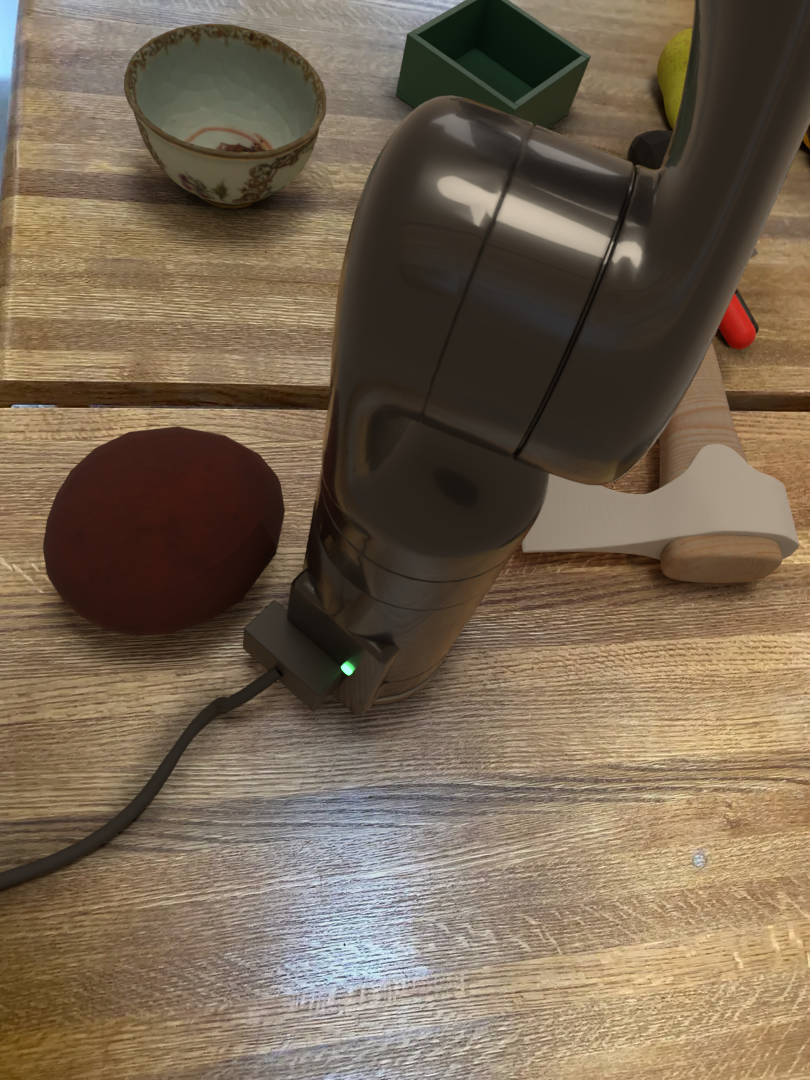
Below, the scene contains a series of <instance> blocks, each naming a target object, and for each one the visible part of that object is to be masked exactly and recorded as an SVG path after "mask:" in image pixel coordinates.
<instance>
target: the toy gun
mask: <svg viewBox="0 0 810 1080" xmlns="http://www.w3.org/2000/svg"><path fill="white" fill-rule="evenodd" d="M758 254H759V252H758V250H757V249H756V247H755V248H754V251H753V253H752V255H751V257H750V259H752V258H754V257H755V256H757V255H758ZM718 330H719V331H720V334H721V335H722V336H723V338H724V340H725V341H726V343H727V345H728V346H729V347H730V348H732V349H734V350H744V349H746V348H748V347H750V346H751V345H752V344H753V343H754V341H755V339H756V336H757V334H758V333H759V330H760V326H759V324H758V323H757V321H756V318H755V317H754V316H753V314H752V312H751V311H750V308H749V306H748V304H747V303H746V301H745V300H744V298H743V295H742V294H741V293H740V291H739V289H738V288H737V289H736V291H735V293H734V295H733V298H732V300H731V302H730V304H729V306H728V308H727V310H726V312H725V315H724V317H723V319H722V321H721V323H720V325H719V327H718Z"/></svg>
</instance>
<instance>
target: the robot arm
mask: <svg viewBox="0 0 810 1080" xmlns="http://www.w3.org/2000/svg"><path fill="white" fill-rule="evenodd" d="M693 2H694V3H693V12H692V13H693V15H692V27H691V28H692V36H691V44H690V52H689V59H688V64H687V70H686V75H685V81H684V86H683V92H682V97H681V103H680V107H679V111H678V115H677V119H676V122H675V126H674V129H672V131H673V133H672V136H671V140H670V143H669V146H668V149H667V151H666V154H665V157H664V159H663V162H662V165H661V167H660V168H659V169H656V170H653V169H649V168H646V167H644V166H640V165H636V166H633V163H632V162H630V161H629V159H628V160H627V159H626V158H622V157H620V156H618V155H615V154H613V153H610V152H607V151H605V150H603V149H600V148H598V147H595V146H592V145H590V144H588V143H585V142H582V141H579V140H577V139H574V138H573V137H570V136H567V135H566V134H565V135H564V134H562V133H560V132H557V131H554V130H551V129H550V128H548V129H547V128H544V127H542V126H539V125H535V126H534V125H533V123H531V122H529V121H526V120H523V119H521V118H518V117H516V116H514V115H511V114H509V113H506V112H504V111H501V110H499V109H496V108H494V107H491V106H488V105H486V104H483V103H480V102H477V101H474V100H471V99H468V98H463V97H459V96H453V95H449V96H439V97H436V98H433V99H430V100H428V101H426V102H424V103H422V104H421V105H420V106H418V107H417V108H416V109H414V108H413V110H411V111H410V112H409V113H408V114H407V115H406V116H405V117H404V118H403V119H402V120H401V122H400V123H399V124H398V125H397V127H396V128H395V129H394V131H393V132H392V133H391V135H390V136H389V137H388V138H387V140H386V141H385V143H384V145H383V147H382V148H381V150H380V152H379V154H378V155H377V157H376V159H375V161H374V162H373V163H374V164H373V165H372V167H371V170H370V171H369V173H368V177H367V179H366V181H365V183H364V186H363V189H362V191H361V194H360V197H359V199H358V202H357V205H356V208H355V212H354V215H353V219H352V222H351V226H350V230H349V234H348V239H347V243H346V246H345V251H344V255H343V260H342V265H341V269H340V274H339V279H338V285H337V286H338V288H337V295H336V301H335V302H336V303H335V311H334V319H333V331H332V342H331V352H330V353H331V354H330V371H329V384H328V385H329V387H328V399H327V400H328V401H327V403H328V404H327V410H326V411H327V412H326V419H325V425H324V432H323V438H322V439H323V440H322V447H321V466H320V469H319V475H318V483H317V487H316V493H315V498H314V503H313V509H312V513H311V519H310V526H309V532H308V536H307V537H308V538H307V543H306V548H305V554H304V560H303V565H302V571H300V573H298V574H297V576H295V577H294V578H293V580H292V581H291V584H290V590H289V596H288V603H287V609H286V608H285V607H284V606H283V605H281V604H280V602H278V601H277V600H275V599H273V600H272V601H271V602H270V603H269V604H268V605H267V606H265V607H264V609H263V610H261V611H260V612H259V613H258V614H257V615H256V616H255V617H254V618H253V619H252V620H251V621H250V622H249V623H248V624H246V626H245V627H243V638H242V649H243V650H244V651H245V652H246V653H247V654H248V655H250V656H251V657H252V658H253V659H254V660H255V661H256V662H257V663H259V665H260V666H262V667H263V668H264V669H265V670H266V671H265V672H264V673H263V674H261V675H260V676H258V677H256V679H254V680H253V681H251V682H250V683H248V684H247V685H245V686H244V687H243V688H240V690H238V691H236V692H235V693H233V694H231V695H229V696H219V697H217V698H215V699H214V700H212V701H211V702H210V703H209V704H208V705H206V706H205V707H204V708H203V709H202V710H201V711H200V712H199V713H198V714H197V715H196V716H195V717H194V718H193V719H192V720H191V721H190V722H189V724H188V725H187V727H186V728H185V729H184V731H183V732H182V733H181V734H180V736H179V738H178V739H177V740H176V741H175V743H174V744H173V746H172V747H171V749H170V750H169V752H168V753H167V754H166V756H165V757H164V758H163V760H162V761H161V762H160V765H159V766H158V767H157V769H156V770H155V771H154V773H153V774H152V776H151V777H150V778H149V780H148V781H147V782H146V784H145V785H144V786H143V787H142V789H141V790H140V791H139V793H137V795H136V796H135V797H134V798H132V800H131V801H130V802H129V803H128V804H127V805H126V806H125V807H124V808H123V809H122V810H121V811H119V812H118V814H116V815H115V816H114V817H113V818H112V819H110V820H109V821H108V822H107V823H106V824H104V825H103V826H101V827H99V828H97V830H95V831H94V832H92V833H90V834H88V835H87V836H86V837H84V838H82V839H80V840H79V841H77V842H74V843H73V844H71V845H69V846H67V847H65V848H63V849H61V850H59V851H56V852H54V853H51V854H49V855H47V856H44V857H42V858H39V859H36V860H34V861H31V862H27V863H25V864H22V865H19V866H16V867H13V868H10V869H7V870H4V871H1V872H0V890H1V889H4V888H7V887H10V886H13V885H16V884H19V883H23V882H25V881H28V880H30V879H33V878H36V877H39V876H42V875H45V874H47V873H49V872H52V871H55V870H57V869H59V868H61V867H64V866H66V865H68V864H71V863H72V862H74V861H76V860H79V859H80V858H81V857H83V856H85V855H87V854H89V853H91V852H92V851H94V850H96V849H97V848H99V847H100V846H102V845H103V844H105V843H106V842H107V841H109V840H110V839H112V838H113V837H115V836H116V835H117V834H119V833H120V832H121V831H122V830H123V829H124V828H126V827H128V825H129V824H131V823H132V822H133V821H134V819H136V818H137V817H138V816H139V815H140V814H141V813H142V812H143V811H144V810H145V808H146V807H147V806H148V805H149V804H150V803H151V802H152V800H153V799H154V798H155V796H156V795H157V794H158V792H159V791H160V790H161V788H162V787H163V786H164V784H165V783H166V781H167V780H168V779H169V777H170V776H171V774H172V773H173V771H174V769H175V767H176V765H177V764H178V762H179V760H180V759H181V757H182V756H183V754H184V753H185V751H186V750H187V748H188V746H189V745H190V744H191V743H192V741H193V740H194V739H195V737H196V736H197V735H198V734H199V733H201V731H202V730H203V729H205V727H206V726H207V725H208V724H209V723H210V722H211V721H212V720H213V719H215V718H216V717H217V716H218V715H219V714H220V713H221V712H228V711H229V712H230V711H233V710H235V709H238V708H241V706H243V705H245V704H246V703H248V702H249V701H251V700H253V699H254V698H256V697H257V696H258V695H260V694H261V693H263V692H264V691H266V690H267V689H268V688H270V687H271V686H273V685H274V684H275V683H277V682H280V684H282V685H283V686H284V688H286V689H287V690H288V691H289V692H290V693H292V695H294V697H296V698H297V699H298V700H299V701H300V702H302V704H304V706H306V707H307V708H308V709H309V710H310V711H311V712H312V713H314V712H316V711H317V710H318V709H319V708H320V706H322V704H323V703H325V701H326V700H328V698H329V697H330V696H331V695H333V696H334V697H335V698H336V699H337V700H338V701H339V702H340V703H342V705H344V706H345V707H346V708H347V709H348V710H349V711H351V713H352V714H354V715H355V716H357V717H362V716H363V715H364V714H365V713H366V712H367V711H368V709H370V708H371V707H372V706H374V705H386V704H391V703H397V702H399V701H402V700H405V699H407V698H409V697H411V696H413V695H414V694H416V693H418V692H419V691H421V690H422V689H423V688H424V687H425V686H427V684H429V682H430V681H432V679H433V678H434V677H435V676H436V675H437V673H438V672H439V670H440V669H441V666H442V665H443V663H444V662H445V660H446V658H447V655H448V654H449V652H450V650H451V648H452V647H453V646H454V644H455V643H456V641H457V639H458V638H459V636H460V635H461V634H462V632H463V631H464V629H465V627H466V626H467V624H469V621H470V620H471V618H472V617H473V615H474V614H475V613H476V611H477V609H478V607H479V606H480V604H481V603H482V602H483V600H484V599H485V597H486V595H487V594H488V593H489V591H490V590H491V588H493V587H492V586H494V584H495V583H496V581H497V580H498V578H499V576H500V575H501V573H502V572H503V570H504V569H505V568H506V567H507V565H508V563H509V562H510V560H511V559H512V557H513V556H514V554H515V553H516V551H517V549H518V548H519V547H520V545H522V541H523V540H524V538H525V537H526V535H527V534H528V532H529V531H530V529H531V528H532V526H533V525H534V523H535V522H536V520H537V518H538V516H539V514H540V512H541V510H542V507H543V504H544V502H545V499H546V495H547V490H548V482H549V473H550V474H552V475H555V476H558V477H561V478H564V479H566V480H569V481H572V482H576V483H580V484H585V485H589V486H590V485H600V486H604V485H609V484H611V483H614V482H617V480H619V479H621V478H622V477H624V476H625V475H627V474H628V473H629V472H630V471H632V469H633V468H634V467H635V466H636V465H637V464H639V463H640V461H641V460H643V459H644V458H645V457H646V455H647V454H648V452H649V451H650V450H651V448H652V447H653V446H654V445H655V443H656V442H657V440H659V436H660V435H661V433H662V432H663V431H664V429H665V428H666V426H667V424H668V423H669V421H670V419H671V418H672V416H673V415H674V413H675V411H676V410H677V408H678V406H679V405H680V403H681V401H682V400H683V398H684V396H685V394H686V392H687V390H688V388H689V387H690V385H691V383H692V381H693V379H694V377H695V375H696V373H697V372H698V370H699V368H700V366H701V364H702V361H703V359H704V357H705V355H706V353H707V351H708V349H709V347H710V344H711V342H712V343H713V340H714V339H715V336H716V334H717V332H718V330H719V328H718V327H719V325H720V323H721V321H722V319H723V317H724V315H725V312H726V310H727V308H728V306H729V304H730V302H731V300H732V298H733V295H734V293H735V291H736V289H738V287H739V284H740V282H741V280H742V277H743V275H744V273H745V271H746V268H747V266H748V264H749V262H750V260H751V258H750V257H751V255H752V253H753V251H754V248H755V249H756V246H757V244H758V242H759V239H760V237H761V235H762V232H763V231H764V229H765V226H766V223H767V221H768V219H769V217H770V216H771V213H772V211H773V208H774V205H776V201H777V200H778V199H777V198H778V196H779V194H780V192H781V190H782V188H783V185H784V183H785V181H786V179H787V177H788V174H789V173H790V170H791V167H792V165H793V164H794V161H795V160H796V159H795V158H796V156H797V154H798V152H799V149H800V147H801V146H802V143H803V142H804V141H803V138H804V136H805V134H806V132H807V133H808V130H809V127H810V0H694V1H693Z"/></svg>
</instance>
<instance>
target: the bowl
mask: <svg viewBox="0 0 810 1080" xmlns="http://www.w3.org/2000/svg"><path fill="white" fill-rule="evenodd" d="M123 77H124V80H123V91H124V95H125V98H126V101H127V103H128V105H129V107H130V109H131V110H132V111H133V116H134V119H135V122H136V125H137V128H138V131H139V134H140V136H141V138H142V141H143V144H144V145H145V147H146V149H147V151H148V152H149V154H150V156H151V158H152V159H153V160H154V162H155V163H156V164H157V166H158V168H160V169H161V170H162V171H163V173H164V174H166V176H167V177H168V178H170V180H172V181H173V182H174V183H176V185H178V186H180V187H181V188H182V189H184V190H186V191H187V192H189V193H191V194H193V195H195V196H197V197H199V198H200V199H201V200H203V201H204V202H206V203H207V204H209V205H212V206H216V207H218V208H221V209H232V210H235V209H242V208H247V207H250V206H253V205H255V204H256V203H258V202H260V201H261V200H265V199H268V198H269V197H271V196H273V195H275V194H277V193H279V192H281V191H282V190H284V189H285V188H286V187H288V186H289V185H290V184H291V183H292V182H293V181H294V180H295V179H296V178H297V177H298V176H299V175H300V174H301V173H302V171H303V170H304V168H305V166H307V164H308V162H309V160H310V159H311V155H312V153H313V151H314V148H315V146H316V142H317V139H318V135H319V131H320V126H321V125H322V123H323V121H324V119H325V117H326V115H327V114H326V113H327V94H326V89H325V85H324V83H323V81H322V79H321V76H320V74H318V72H317V70H316V69H315V68H314V67H313V65H312V64H311V63H310V62H309V61H308V60H307V59H306V58H305V57H304V56H303V55H302V54H301V53H299V52H298V51H297V50H296V49H294V48H292V47H291V46H290V45H288V44H287V43H285V42H284V41H281V40H279V39H277V38H275V37H274V36H271V35H269V34H267V33H264V32H262V31H258V30H254V29H251V28H248V27H244V26H239V25H234V24H230V23H229V24H228V23H227V24H225V23H200V24H191V25H186V26H185V25H184V26H180V27H176V28H174V29H171V30H168V31H166V32H164V33H161V34H158V35H157V36H155V37H153V38H151V39H150V40H149V41H147V42H146V43H145V44H143V46H141V47H140V48H139V49H138V50H136V52H135V53H134V54H133V55H132V56H131V59H130V60H129V61H128V63H127V67H126V70H125V73H124V76H123Z"/></svg>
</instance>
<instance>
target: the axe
mask: <svg viewBox="0 0 810 1080" xmlns="http://www.w3.org/2000/svg"><path fill="white" fill-rule="evenodd" d="M727 397H728V396H727V393H726V389H725V384H724V381H723V376H722V372H721V368H720V364H719V361H718V357H717V354H716V350H715V347H714V344H713V341H712V342H711V344H710V347H709V349H708V351H707V353H706V355H705V357H704V359H703V361H702V364H701V366H700V368H699V370H698V372H697V373H696V375H695V377H694V379H693V381H692V383H691V385H690V387H689V388H688V390H687V392H686V394H685V396H684V398H683V400H682V401H681V403H680V405H679V406H678V408H677V410H676V411H675V413H674V415H673V416H672V418H671V419H670V421H669V423H668V424H667V426H666V428H665V429H664V431H663V432H662V433H661V435H660V436H659V438H658V445H659V482H658V483H659V484H658V485H659V487H658V488H657V489H655V490H654V491H651V492H648V493H628V492H622V491H617V490H613V489H611V488H608V487H605V486H604V485H590V486H589V485H585V484H580V483H576V482H572V481H569V480H566V479H564V478H561V477H558V476H555V475H552V474H550V473H549V482H548V490H547V495H546V499H545V502H544V504H543V507H542V510H541V512H540V514H539V516H538V518H537V520H536V522H535V523H534V525H533V526H532V528H531V529H530V531H529V532H528V534H527V535H526V537H525V538H524V540H523V541H522V543H521V549H522V553H523V554H525V553H526V554H527V553H528V554H529V553H581V552H583V553H586V552H587V553H588V552H589V553H590V552H591V553H613V554H615V553H616V554H628V555H630V554H631V555H637V556H644V557H647V558H652V559H655V560H659V561H660V569H661V572H662V574H663V575H665V577H667V578H670V579H673V580H676V581H682V582H692V583H709V584H711V583H712V584H716V583H717V584H718V583H719V584H724V583H725V584H727V583H728V584H730V583H731V584H732V583H745V582H752V581H757V580H758V581H759V580H761V579H764V578H766V577H769V576H770V575H771V574H772V573H774V572H775V571H776V570H777V569H778V568H779V567H780V566H781V565H782V563H783V560H785V559H787V558H789V557H790V556H792V555H793V554H794V553H796V551H797V550H798V549H799V548H800V542H799V537H798V533H797V528H796V525H795V522H794V517H793V514H792V509H791V505H790V501H789V498H788V493H787V490H786V486H785V484H784V483H783V482H782V481H780V480H779V479H777V478H776V477H774V476H772V475H769V474H766V473H763V472H761V471H759V470H757V469H755V468H754V467H753V466H752V465H750V463H749V460H748V458H747V455H746V453H745V450H744V448H743V445H742V443H741V440H740V437H739V435H738V432H737V430H736V426H735V423H734V420H733V418H732V417H733V416H732V414H731V409H730V406H729V401H728V398H727Z"/></svg>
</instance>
